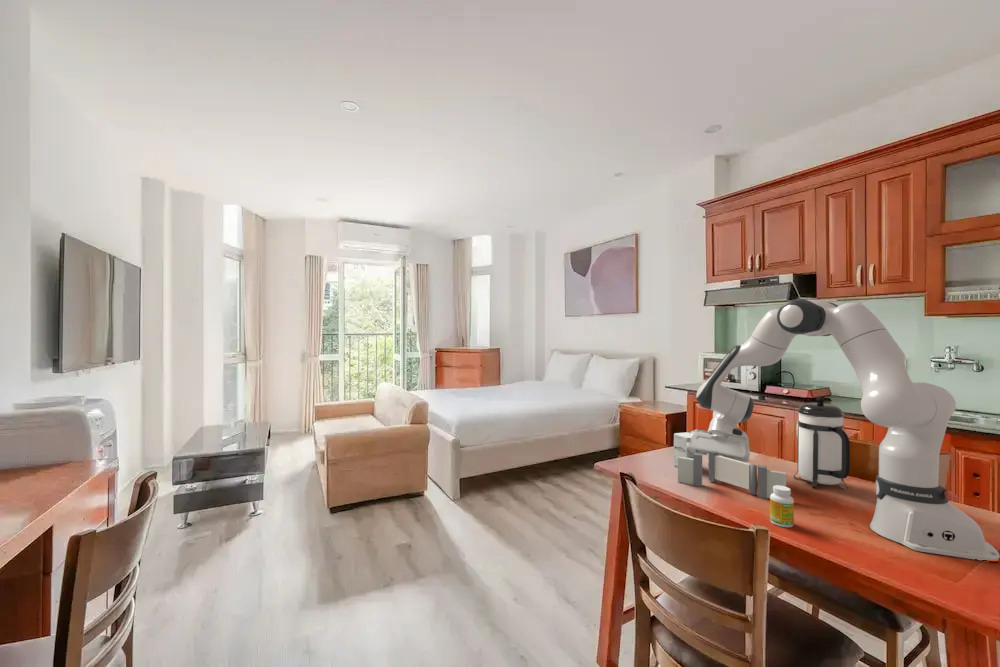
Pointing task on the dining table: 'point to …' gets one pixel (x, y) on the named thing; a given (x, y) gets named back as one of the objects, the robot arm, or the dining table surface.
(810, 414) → the coffee press
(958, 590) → the dining table surface
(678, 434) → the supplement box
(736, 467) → the gate
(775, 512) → the supplement bottle
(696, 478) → the fence
